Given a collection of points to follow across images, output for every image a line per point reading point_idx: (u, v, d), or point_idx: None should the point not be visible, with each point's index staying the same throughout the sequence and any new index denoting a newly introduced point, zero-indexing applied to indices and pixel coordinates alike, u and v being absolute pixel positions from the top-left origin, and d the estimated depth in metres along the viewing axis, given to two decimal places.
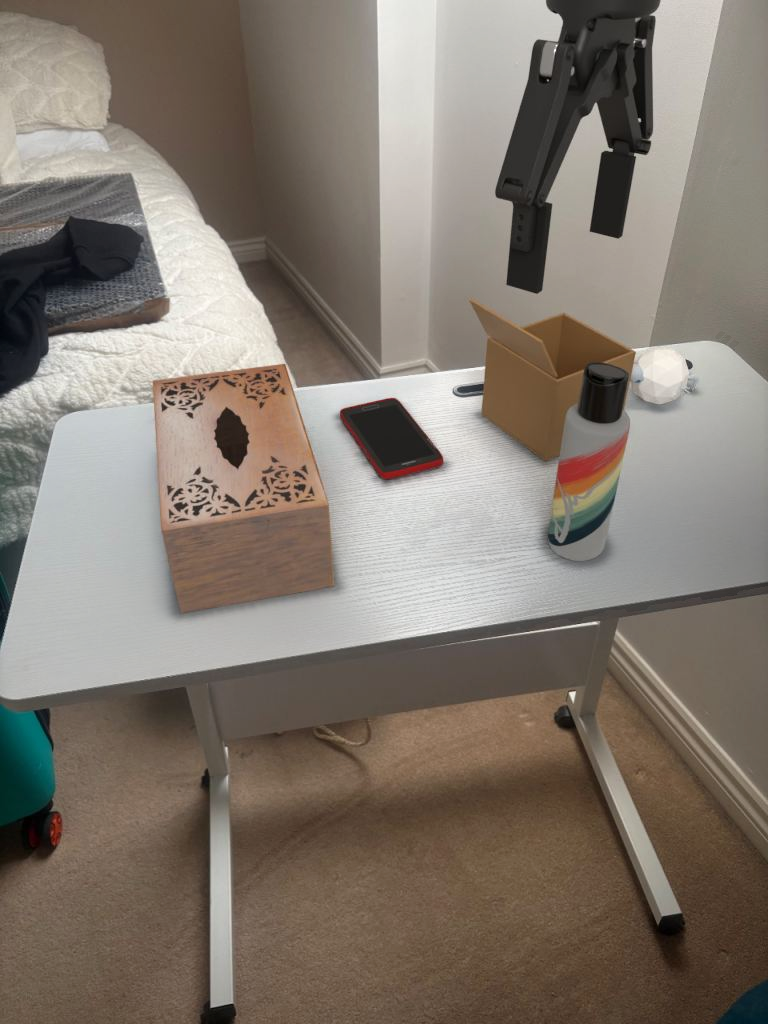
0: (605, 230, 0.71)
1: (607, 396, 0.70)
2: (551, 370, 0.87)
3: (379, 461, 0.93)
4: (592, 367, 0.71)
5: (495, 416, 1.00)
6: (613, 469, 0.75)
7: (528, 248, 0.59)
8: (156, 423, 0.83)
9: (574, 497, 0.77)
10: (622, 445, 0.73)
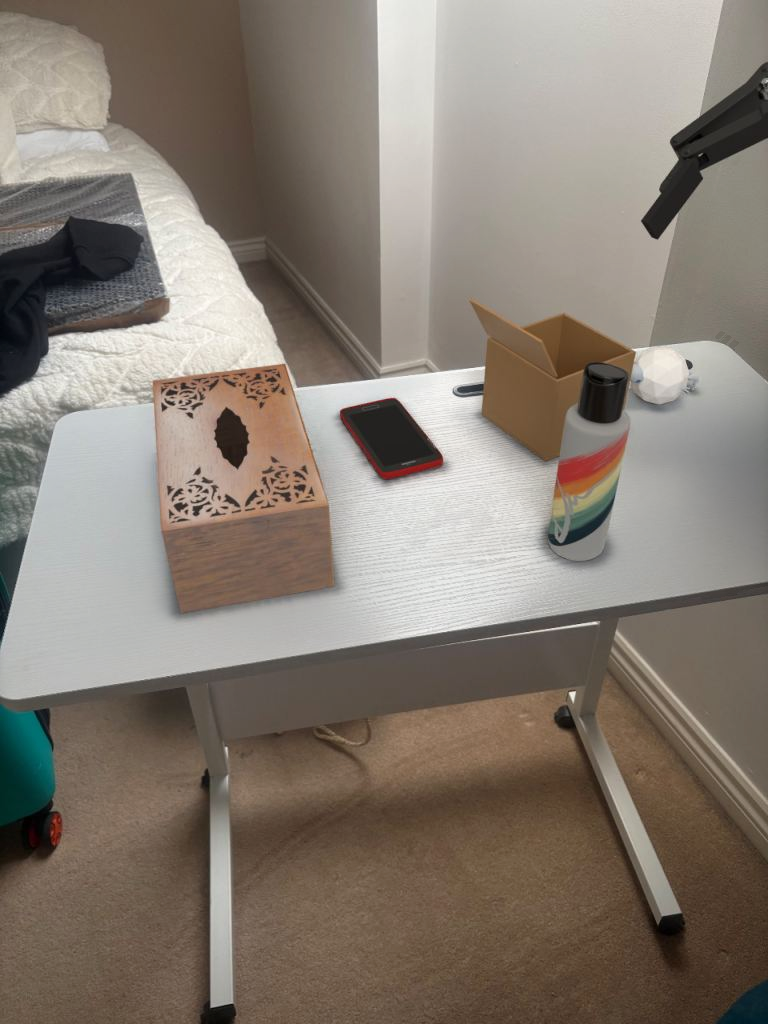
0: None
1: (607, 396, 0.70)
2: (551, 370, 0.87)
3: (379, 461, 0.93)
4: (591, 367, 0.71)
5: (495, 416, 1.00)
6: (613, 469, 0.75)
7: (661, 187, 0.74)
8: (156, 423, 0.83)
9: (574, 497, 0.77)
10: (622, 445, 0.73)
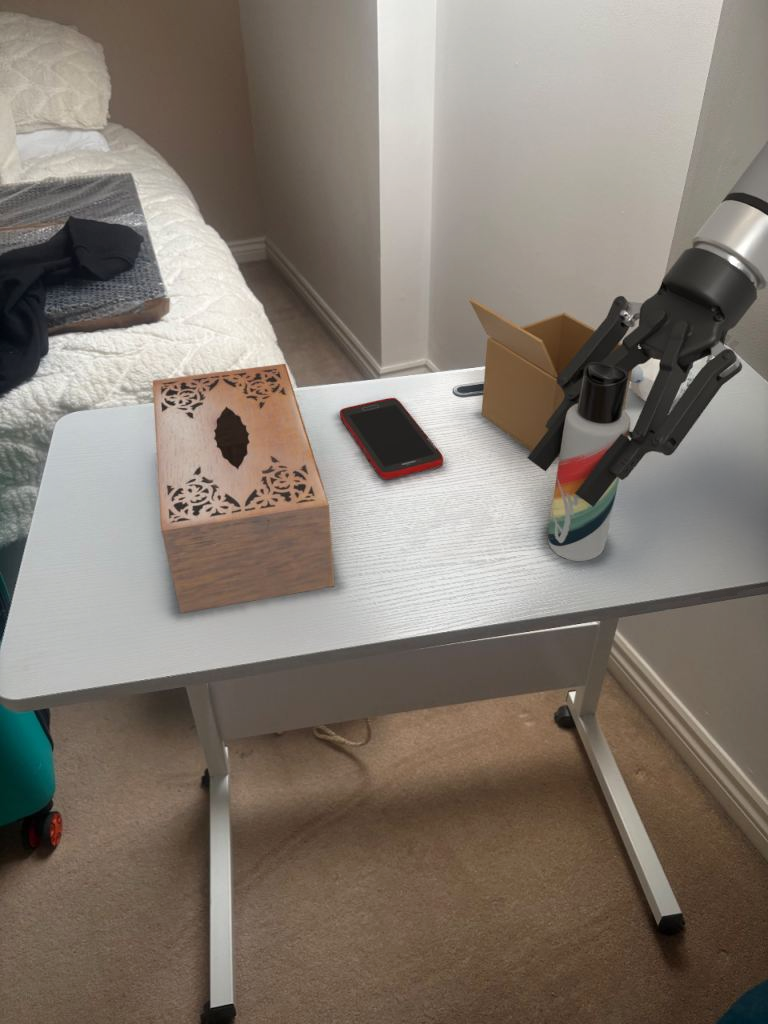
0: None
1: (607, 396, 0.70)
2: (551, 370, 0.87)
3: (379, 461, 0.93)
4: (592, 368, 0.71)
5: (495, 416, 1.00)
6: None
7: (547, 424, 0.78)
8: (156, 423, 0.83)
9: (574, 497, 0.77)
10: None
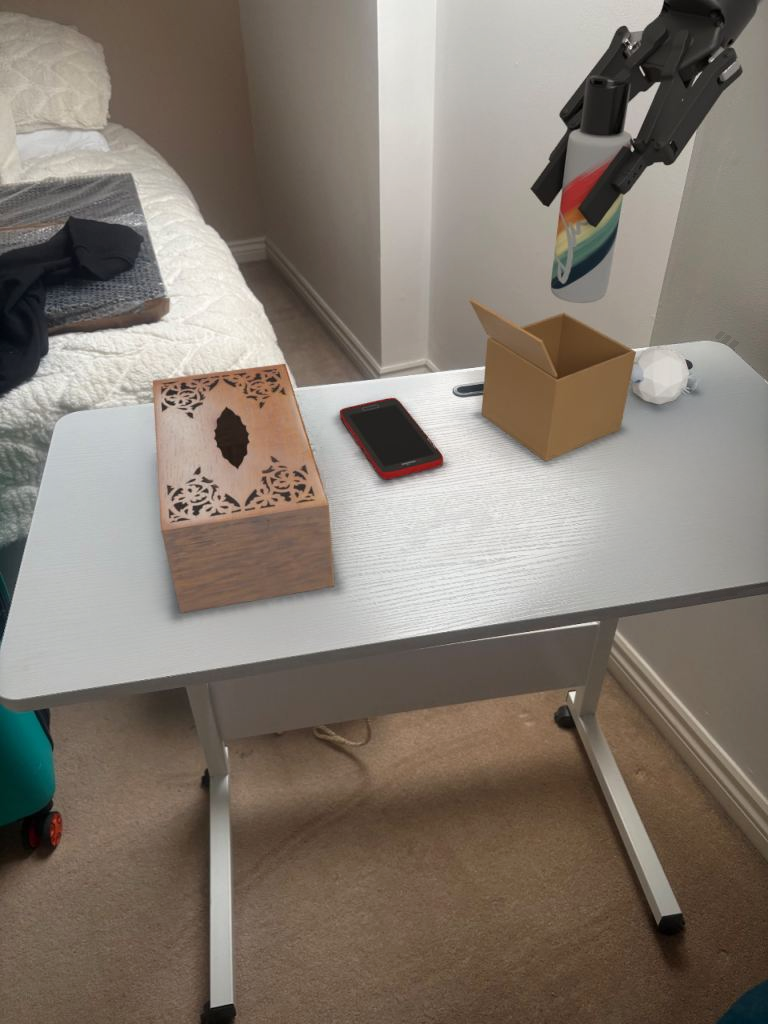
0: None
1: (610, 101, 0.71)
2: (551, 370, 0.87)
3: (379, 461, 0.93)
4: (594, 76, 0.72)
5: (495, 416, 1.00)
6: None
7: (550, 157, 0.79)
8: (156, 423, 0.83)
9: (576, 224, 0.78)
10: None
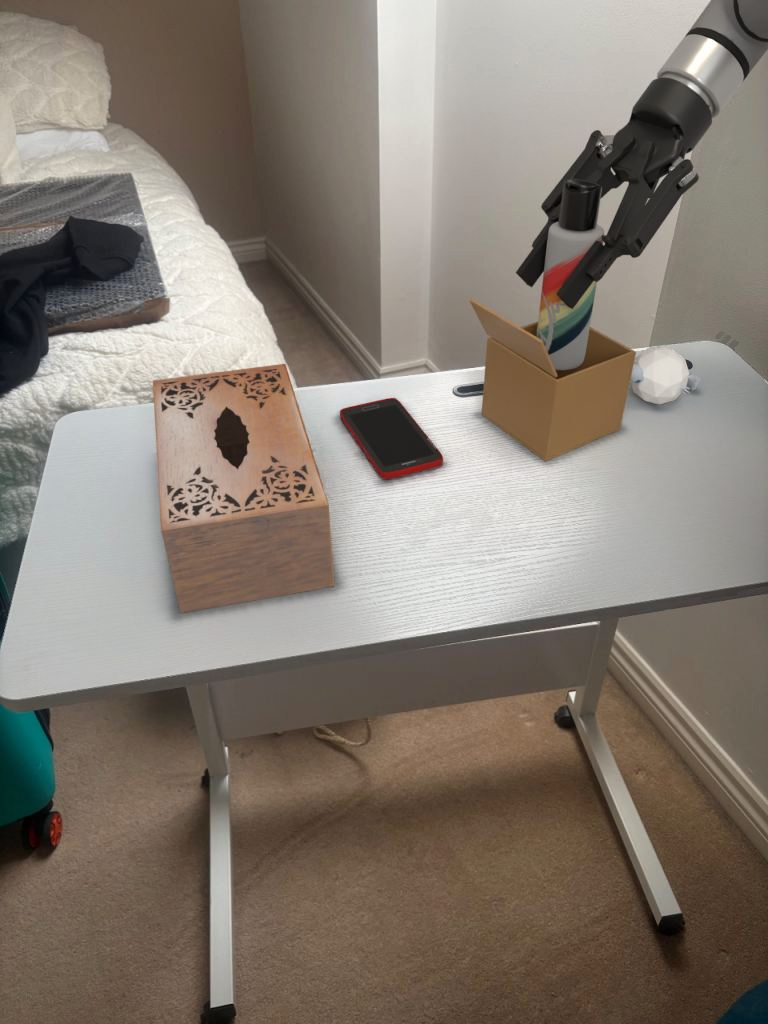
0: None
1: (583, 203, 0.82)
2: (551, 370, 0.87)
3: (379, 461, 0.93)
4: (570, 181, 0.83)
5: (495, 416, 1.00)
6: None
7: (533, 244, 0.90)
8: (156, 423, 0.83)
9: (556, 304, 0.88)
10: None
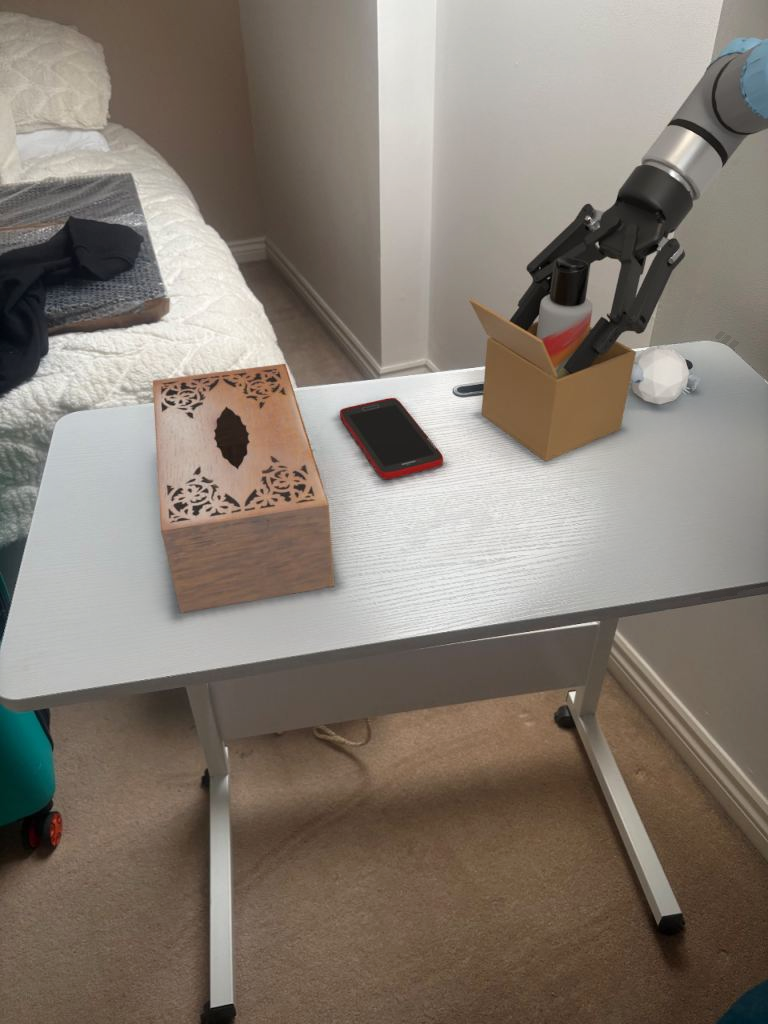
0: None
1: (573, 281, 0.87)
2: (551, 370, 0.87)
3: (379, 461, 0.93)
4: (560, 259, 0.88)
5: (495, 416, 1.00)
6: None
7: (519, 303, 0.96)
8: (156, 423, 0.83)
9: (547, 372, 0.94)
10: (586, 325, 0.90)
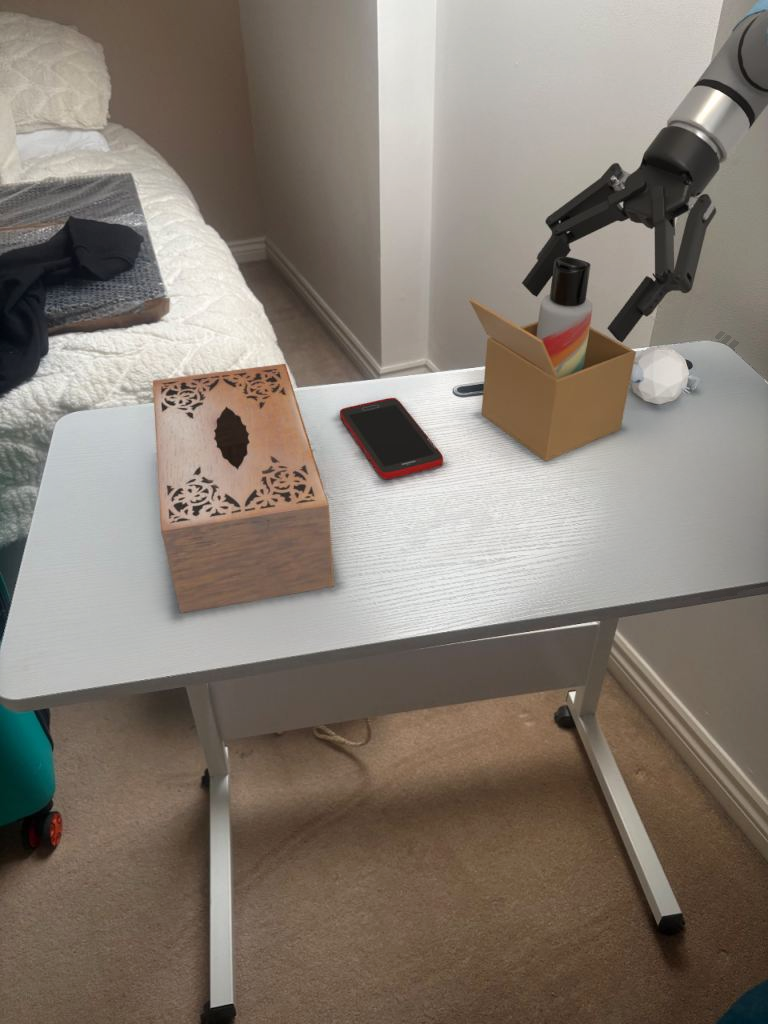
0: None
1: (573, 281, 0.87)
2: (551, 370, 0.87)
3: (379, 461, 0.93)
4: (560, 259, 0.88)
5: (495, 416, 1.00)
6: (579, 346, 0.92)
7: (538, 256, 0.96)
8: (156, 423, 0.83)
9: (547, 372, 0.94)
10: (586, 325, 0.90)
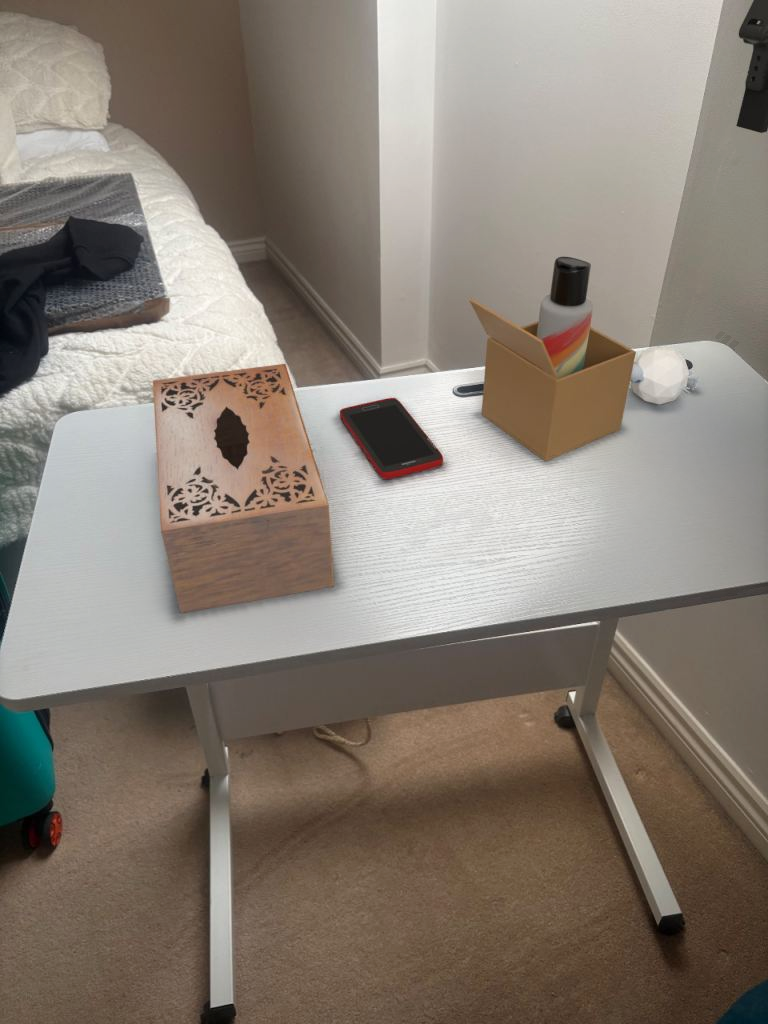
0: None
1: (573, 281, 0.87)
2: (551, 370, 0.87)
3: (379, 461, 0.93)
4: (561, 259, 0.88)
5: (495, 416, 1.00)
6: (579, 346, 0.92)
7: (760, 87, 0.71)
8: (156, 423, 0.83)
9: None
10: (586, 325, 0.90)
